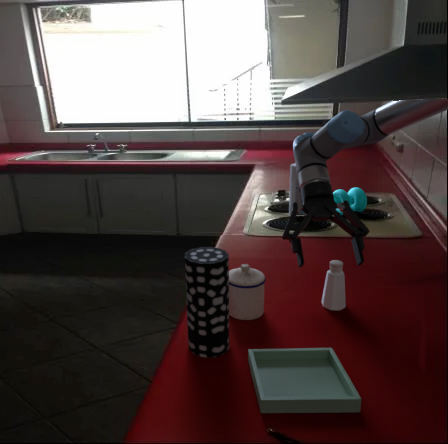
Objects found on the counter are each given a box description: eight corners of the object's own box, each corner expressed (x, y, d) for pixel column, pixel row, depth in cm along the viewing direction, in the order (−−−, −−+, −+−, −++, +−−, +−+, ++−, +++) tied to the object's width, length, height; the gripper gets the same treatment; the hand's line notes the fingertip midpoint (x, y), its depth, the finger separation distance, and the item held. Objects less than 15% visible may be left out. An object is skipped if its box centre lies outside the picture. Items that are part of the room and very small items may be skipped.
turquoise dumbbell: (367, 215, 158) (369, 190, 155) (343, 218, 157) (345, 192, 154) (350, 208, 168) (352, 184, 165) (328, 211, 166) (330, 187, 163)
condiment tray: (331, 359, 79) (332, 347, 78) (360, 412, 66) (361, 399, 65) (247, 360, 80) (248, 349, 79) (260, 413, 67) (260, 400, 66)
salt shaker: (343, 313, 94) (347, 268, 91) (318, 307, 97) (321, 264, 94) (347, 302, 98) (351, 259, 95) (323, 297, 101) (326, 255, 98)
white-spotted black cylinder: (195, 331, 91) (192, 245, 84) (233, 337, 87) (232, 249, 81) (182, 353, 83) (178, 261, 77) (223, 361, 80) (222, 265, 74)
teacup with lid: (270, 307, 98) (272, 262, 95) (255, 325, 91) (255, 277, 88) (225, 295, 105) (224, 252, 101) (207, 311, 98) (206, 266, 95)
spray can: (296, 211, 169) (298, 162, 163) (309, 215, 163) (312, 164, 157) (284, 214, 166) (286, 164, 160) (297, 218, 160) (299, 166, 154)
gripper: (360, 192, 110) (379, 268, 100) (264, 196, 112) (274, 271, 102) (370, 177, 103) (392, 256, 94) (268, 181, 105) (280, 260, 95)
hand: (331, 264), depth 98 cm, fingers open, 13 cm apart
